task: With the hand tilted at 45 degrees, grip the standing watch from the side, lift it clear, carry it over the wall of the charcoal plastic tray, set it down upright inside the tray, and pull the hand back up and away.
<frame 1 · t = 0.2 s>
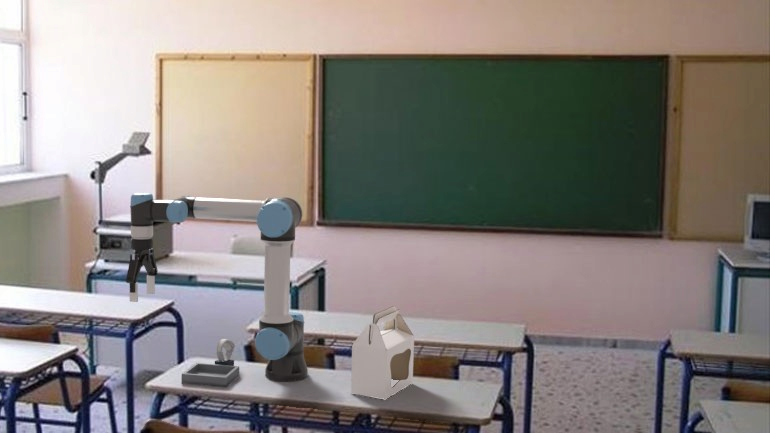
hand: (142, 297, 329), 28 cm above the table, tool pointing down, fingers open, 13 cm apart
watch: (224, 369, 343), on the table
tray: (210, 379, 329), on the table
gable box: (382, 389, 325), on the table
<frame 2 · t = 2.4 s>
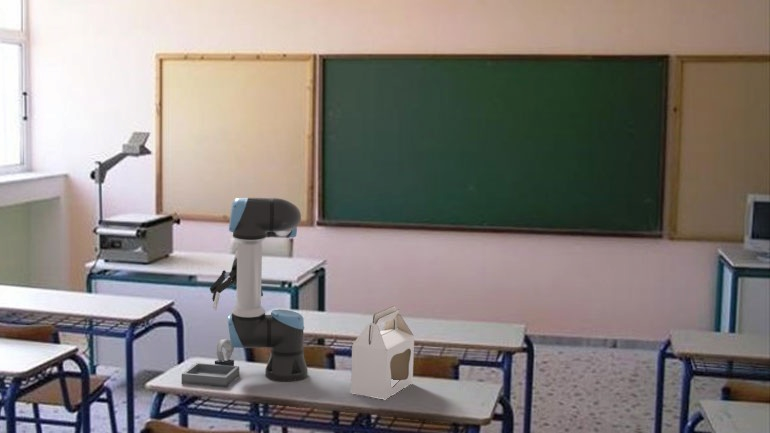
hand: (232, 309, 351), 20 cm above the table, tool tilted 45°, fingers open, 13 cm apart
nothing on the table moved.
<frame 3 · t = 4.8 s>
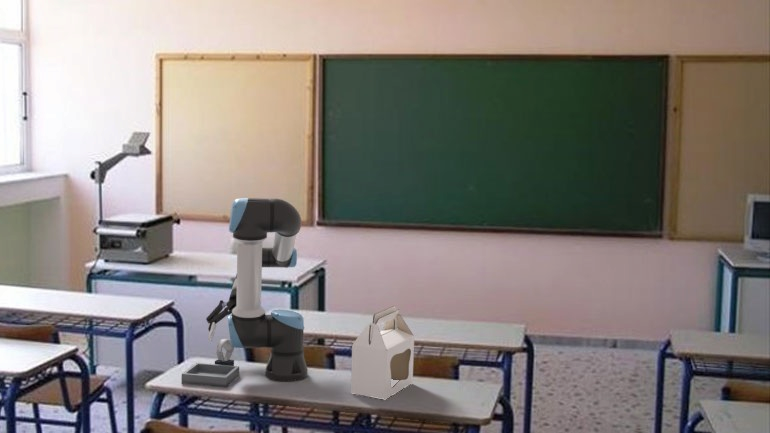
hand: (227, 340, 346), 9 cm above the table, tool tilted 45°, fingers open, 13 cm apart
nothing on the table moved.
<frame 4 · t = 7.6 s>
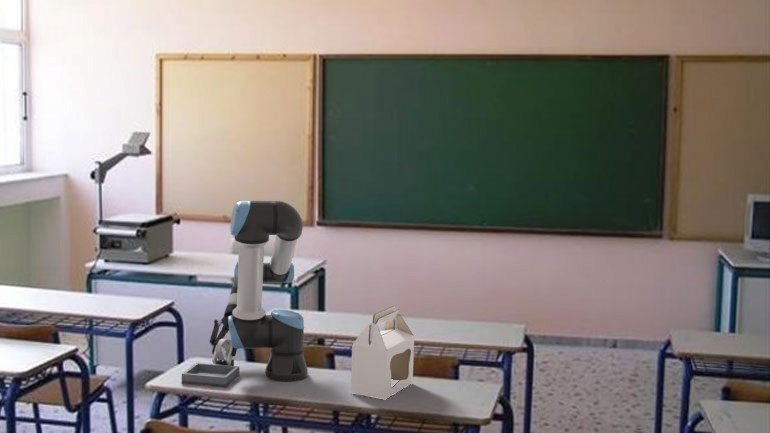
hand: (221, 362, 339), 3 cm above the table, tool tilted 45°, fingers closed on watch, 5 cm apart
watch: (224, 369, 343), on the table, touching gripper
everything else where it was.
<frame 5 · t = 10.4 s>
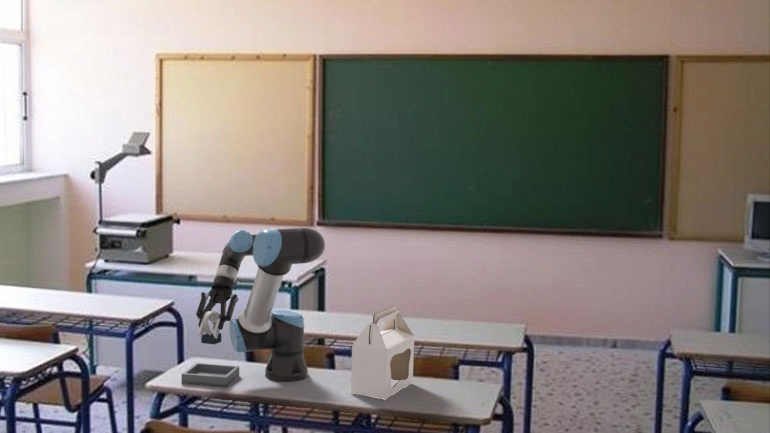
hand: (207, 335, 325), 16 cm above the table, tool tilted 45°, fingers closed on watch, 5 cm apart
watch: (211, 342, 329), point 13 cm above the table, touching gripper
everything else where it was.
when the fingers open (5 cm above the table, at t = 13.4 s): watch moves 1 cm, resting on tray.
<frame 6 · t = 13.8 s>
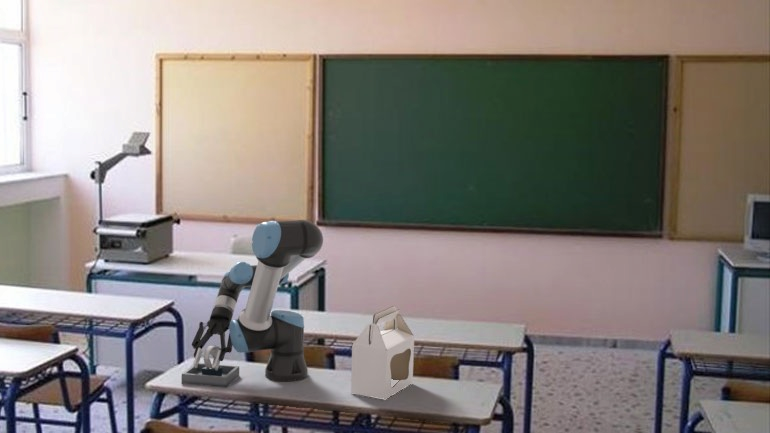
hand: (205, 367, 325), 6 cm above the table, tool tilted 45°, fingers open, 7 cm apart
watch: (212, 376, 330), point 1 cm above the table, touching gripper, tray
everything else where it was.
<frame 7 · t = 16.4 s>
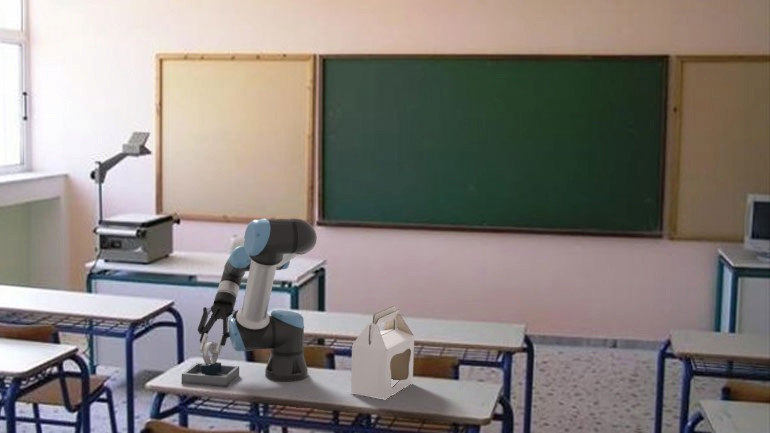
hand: (209, 351, 330), 10 cm above the table, tool tilted 45°, fingers open, 5 cm apart
watch: (211, 372, 332), point 2 cm above the table
everything else where it was.
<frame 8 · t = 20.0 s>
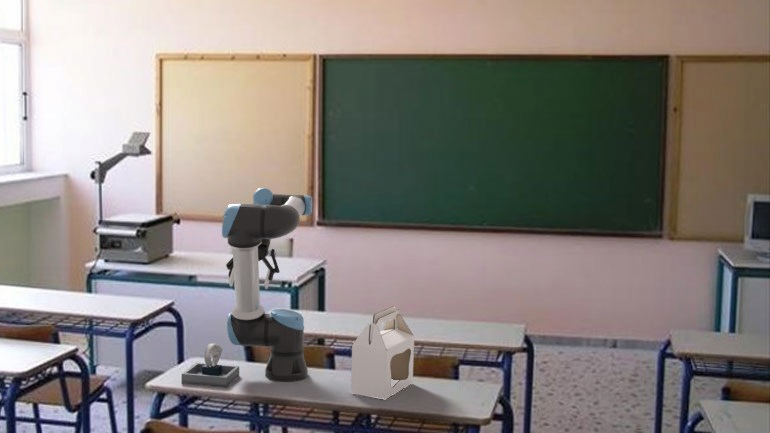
hand: (247, 285, 346), 30 cm above the table, tool tilted 45°, fingers open, 13 cm apart
watch: (211, 374, 332), point 1 cm above the table, touching tray
everything else where it was.
at the end: watch inside the target area on the tray (3.2 cm from its centre), point 0.8 cm above the tray's base; watch tilted 0°; the gripper is holding nothing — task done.
